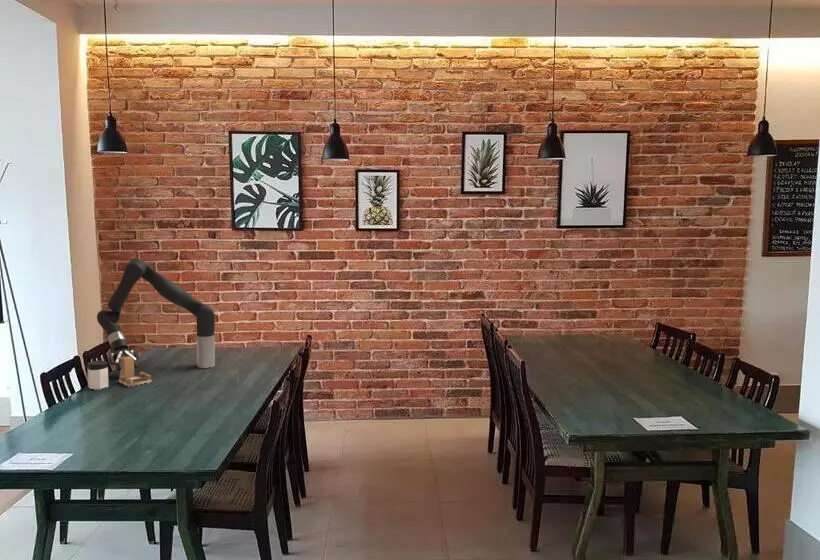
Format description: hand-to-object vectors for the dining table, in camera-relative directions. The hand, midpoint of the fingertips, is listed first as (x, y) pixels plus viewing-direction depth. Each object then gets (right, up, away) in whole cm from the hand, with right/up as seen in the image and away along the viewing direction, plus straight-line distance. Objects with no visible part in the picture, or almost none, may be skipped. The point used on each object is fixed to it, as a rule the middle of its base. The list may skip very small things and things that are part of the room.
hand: (128, 368), depth 294 cm
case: (-1, -4, +1) cm, 5 cm away
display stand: (+7, -6, -8) cm, 12 cm away
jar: (-6, -7, -17) cm, 19 cm away
